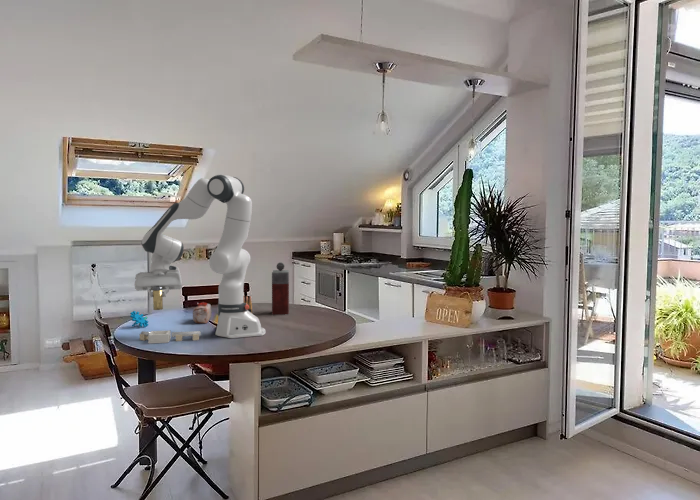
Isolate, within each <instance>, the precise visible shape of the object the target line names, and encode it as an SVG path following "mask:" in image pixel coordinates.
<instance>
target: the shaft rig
mask: <svg viewBox="0 0 700 500" xmlns="http://www.w3.org/2000/svg"><path fill="white" fill-rule="evenodd" d="M149 332H150V334H149V335H148V339H147V341H148V344H168V343H169V342H170V340H171V338H175V342H182V341H183V337H192V341H199V340H200V337H201V336H202V332H201V331H200V330H199V331H197V330H195V331H172V332H171V330H151V331H149Z"/></svg>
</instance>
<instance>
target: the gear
mask: <svg viewBox="0 0 700 500" xmlns="http://www.w3.org/2000/svg"><path fill="white" fill-rule="evenodd" d="M129 317H130V318H131V321H132V322H133V324H131V327H135V326H139V327H140V328H142V327H143V328H146V327H148V326H149V321H148V320H147V319H148V317H147V316H145V317H144V314H143V313H141V314H140V312H139V311H135V310H133V311H132V312H130V316H129Z"/></svg>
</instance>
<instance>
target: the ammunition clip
mask: <svg viewBox="0 0 700 500" xmlns="http://www.w3.org/2000/svg"><path fill="white" fill-rule="evenodd" d="M245 297H246V298H245ZM243 302H244V303H247V304H248V305H249V308H248V311H249V312H251V313H252V314H253V304H252V302H253V301H252V296H251V295H250V296H249V297H248V295H246V296H245V295H243Z"/></svg>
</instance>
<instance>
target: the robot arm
mask: <svg viewBox="0 0 700 500" xmlns="http://www.w3.org/2000/svg"><path fill="white" fill-rule="evenodd" d="M244 192H245V186H244V183H243V181H242V180H240V178H238V177H235V176H232V175H228V174H216V175H213V176H212V177H210V178H206V177H202V178H199V179H198V180H197V181H196V182H195V183H194V184H193V186H192V187H191V188H190V189H189V191H188V193H187V194H186V196H185V197H184V198H183V199H182V200H181V201H179V202H175V203H173V204H172V205H170V206H169V208H167V209H166V210H165V212H164V213H163V214H162V216H160V218H159V219H158V220H157V221H156V222H155V224H154V225H153V226H152V227H151V228H150V229H149V230H147V232H146V233H145V234H144V236H143V237H142V239H141V246H142V248H143V250H144V251H145V252H147V253H151V263H150V267H149V268H150V269H149V271H143V272H141V271H140V272H138V273H136V274H135V281H134V289H135V290H136V291H137V292H138V291H147V292H148V294H149V295H148V296H149V298H153V287H156V286H162V297H163V298H166V297H167V294H168V293H169V291H170V290H181V289H182V288H183V281H182V280H183V279H182V274H181V271H180V267H178V266H176V265H172V264H173V263H175V262H177V261H179V260H180V259H181V258H182V256H183V253H184V249H185V248H184V247H185V246H184V244H183V241H181V240H179V239H177V238H174V237H171V236H169V235H166V234H164V231H165V230H166V229H167V228H168V226H169V225H170V224H172V222H173V221H176V220H198V219H201V218H203V217H204V216H205V215H206V213H207V212H208V210H209V208H210V207H211V205H212V204H213V201H215V200H217V201H219V202H221V203H222V204H226V206H227V209H226V214H225V219H224V225H223V230H222V233H221V237H220V239H219V242H218V244H217V246H216V248H215V251H214V252H213V253H212V254H211V255H210V257H209V261H208V263H209V267H210V269H211V271H213V272H214V273H216V274H222V278H221V280H220V282H219V284H218V303H217V317H218V318H217V326H216V331H215V333H214V334H215V336H218V337H223V338H226V339H227V338H228V339H236V338H238V339H239V338H247V337H249V338H250V337H258V336H259V337H260V336H264V335H265V334H266V328H264V327H262V325H261V321H260V319H259V317H258V316H256V315H254V314H253V312H252V313H251V312H249V311H248V308H249V305H248V304H247V303H246V302H245V303H244V302H243V296H244V288H245V287H244V286H245V278H246V275H247V270H248V267H249V265H250V263H251V260H252V259H251V258H252V257H251V255H250V252H249V251H247V249H245V248H243V245H244V244H245V242H246V241H247V240H248V236H249V233H250V232H249V231H250V227H251V220H252V216H253V215H252V214H253V213H252V212H253V200H252V199H251V197H249V196H248V195H247V194H245V193H244ZM163 290H164V291H163Z"/></svg>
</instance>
